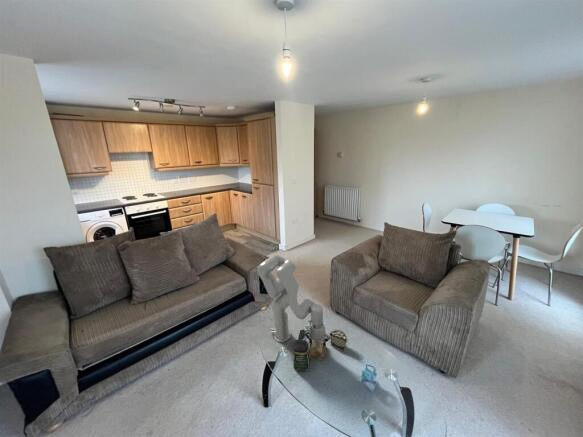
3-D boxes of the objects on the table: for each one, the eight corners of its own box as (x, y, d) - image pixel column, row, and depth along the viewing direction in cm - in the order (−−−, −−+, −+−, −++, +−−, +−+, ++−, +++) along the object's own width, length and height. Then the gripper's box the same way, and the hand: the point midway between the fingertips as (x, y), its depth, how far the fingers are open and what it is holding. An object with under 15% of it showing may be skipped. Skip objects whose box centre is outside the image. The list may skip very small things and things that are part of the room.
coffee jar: (292, 371, 146) (291, 347, 140) (294, 359, 153) (293, 336, 147) (308, 372, 144) (307, 349, 138) (309, 361, 152) (308, 338, 146)
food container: (349, 345, 161) (350, 333, 158) (346, 352, 156) (347, 340, 153) (332, 338, 167) (332, 326, 164) (329, 344, 163) (329, 333, 159)
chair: (364, 374, 141) (364, 359, 137) (378, 382, 136) (379, 366, 132) (358, 384, 136) (359, 369, 132) (373, 393, 131) (373, 377, 127)
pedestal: (309, 358, 154) (308, 354, 152) (311, 345, 163) (310, 341, 162) (324, 360, 152) (324, 356, 150) (325, 347, 161) (325, 343, 160)
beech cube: (312, 351, 154) (311, 344, 152) (313, 343, 160) (313, 336, 158) (321, 353, 153) (321, 345, 151) (322, 345, 158) (322, 338, 156)
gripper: (302, 325, 148) (303, 347, 154) (330, 329, 144) (330, 352, 149) (304, 317, 155) (305, 338, 161) (331, 320, 150) (331, 342, 156)
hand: (317, 344), depth 155 cm, fingers open, 7 cm apart
